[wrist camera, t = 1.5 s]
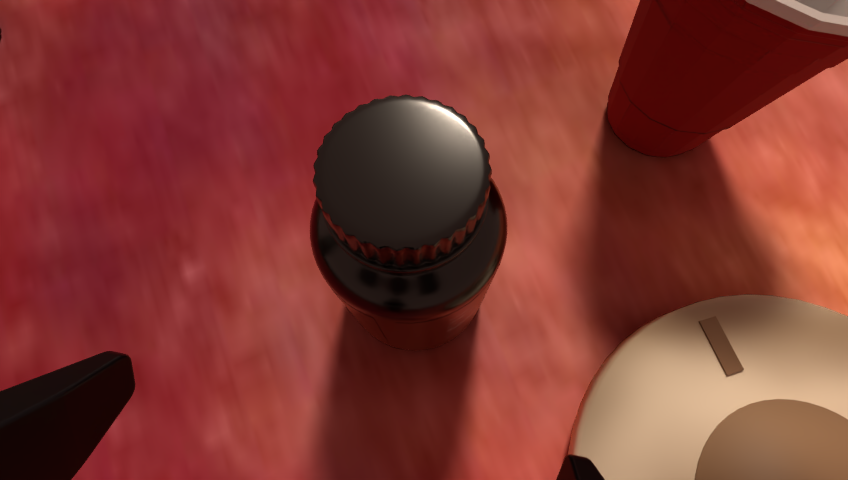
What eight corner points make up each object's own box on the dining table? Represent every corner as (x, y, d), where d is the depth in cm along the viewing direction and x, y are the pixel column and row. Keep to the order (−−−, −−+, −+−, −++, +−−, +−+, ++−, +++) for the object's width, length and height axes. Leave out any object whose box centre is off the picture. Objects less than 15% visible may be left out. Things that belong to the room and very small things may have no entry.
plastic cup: (775, 192, 25) (1070, 14, 13) (586, 202, 24) (725, 28, 13) (717, 44, 28) (909, -191, 17) (553, 51, 28) (640, -183, 17)
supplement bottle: (455, 210, 24) (483, 40, 13) (499, 328, 22) (581, 246, 11) (334, 245, 23) (253, 97, 12) (367, 371, 21) (305, 331, 10)
